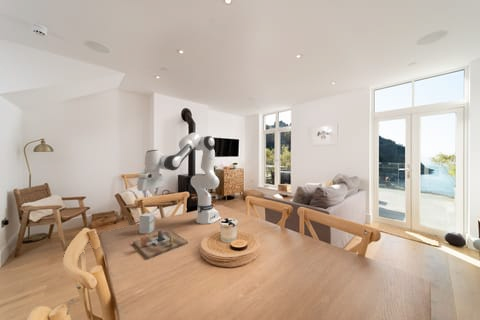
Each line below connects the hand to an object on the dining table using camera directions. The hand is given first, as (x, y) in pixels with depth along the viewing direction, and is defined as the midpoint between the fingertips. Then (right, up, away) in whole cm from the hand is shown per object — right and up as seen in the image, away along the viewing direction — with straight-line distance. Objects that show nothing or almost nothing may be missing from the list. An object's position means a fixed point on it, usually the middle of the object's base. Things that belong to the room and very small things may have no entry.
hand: (151, 195), depth 117 cm
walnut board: (+8, -29, -4) cm, 31 cm away
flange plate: (+6, -28, -6) cm, 29 cm away
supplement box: (-10, -29, +14) cm, 34 cm away
